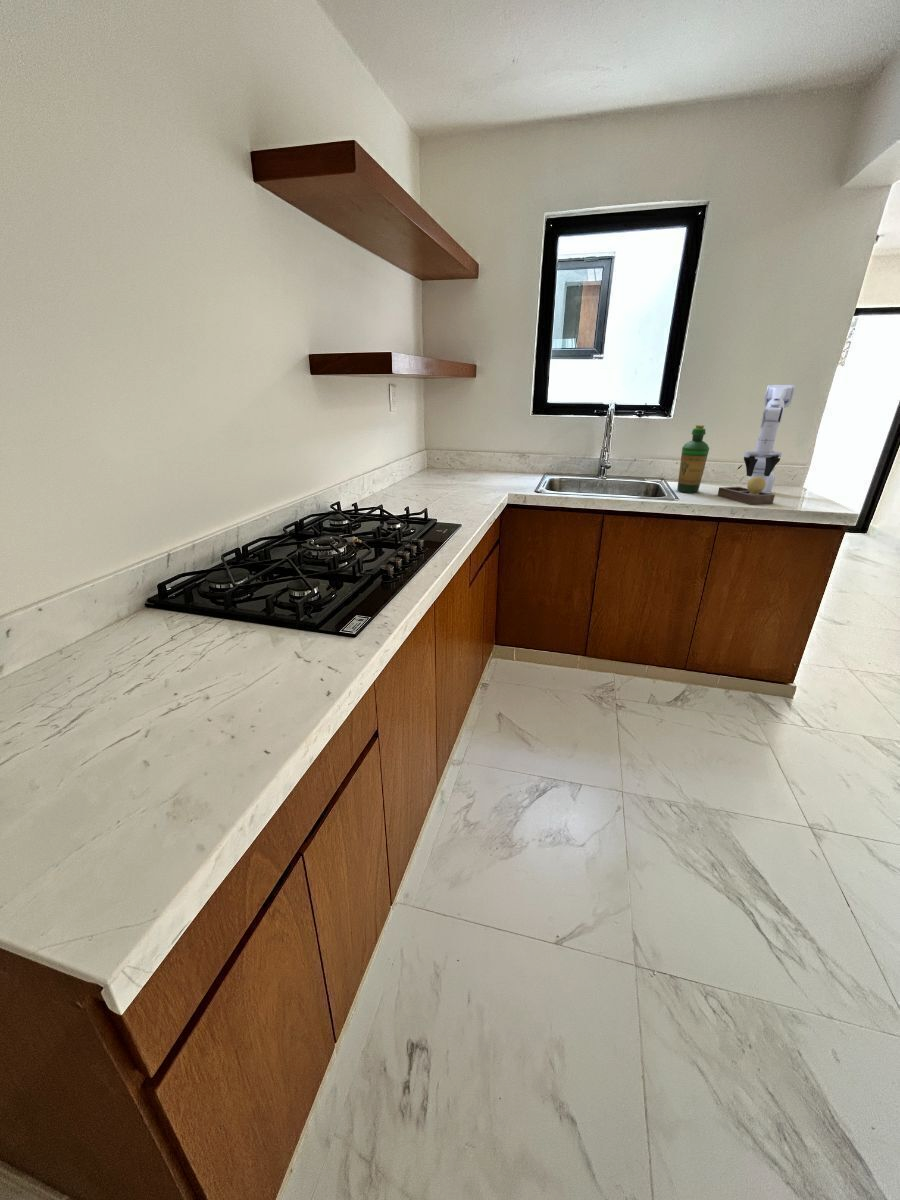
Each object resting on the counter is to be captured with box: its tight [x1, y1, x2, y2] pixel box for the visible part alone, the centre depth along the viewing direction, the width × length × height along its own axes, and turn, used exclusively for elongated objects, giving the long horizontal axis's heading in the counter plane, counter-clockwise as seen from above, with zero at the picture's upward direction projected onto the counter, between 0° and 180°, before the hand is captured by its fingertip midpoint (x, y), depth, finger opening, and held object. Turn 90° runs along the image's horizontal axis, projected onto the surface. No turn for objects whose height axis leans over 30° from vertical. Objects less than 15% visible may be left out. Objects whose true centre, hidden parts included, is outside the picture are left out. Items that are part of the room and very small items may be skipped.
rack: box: [717, 486, 776, 506], centre depth 207 cm, size 10×19×4 cm, turn 14°
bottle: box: [676, 424, 710, 494], centre depth 217 cm, size 11×11×28 cm
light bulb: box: [746, 477, 766, 495], centre depth 202 cm, size 6×6×10 cm
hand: (757, 476), depth 199 cm, fingers open, 7 cm apart
